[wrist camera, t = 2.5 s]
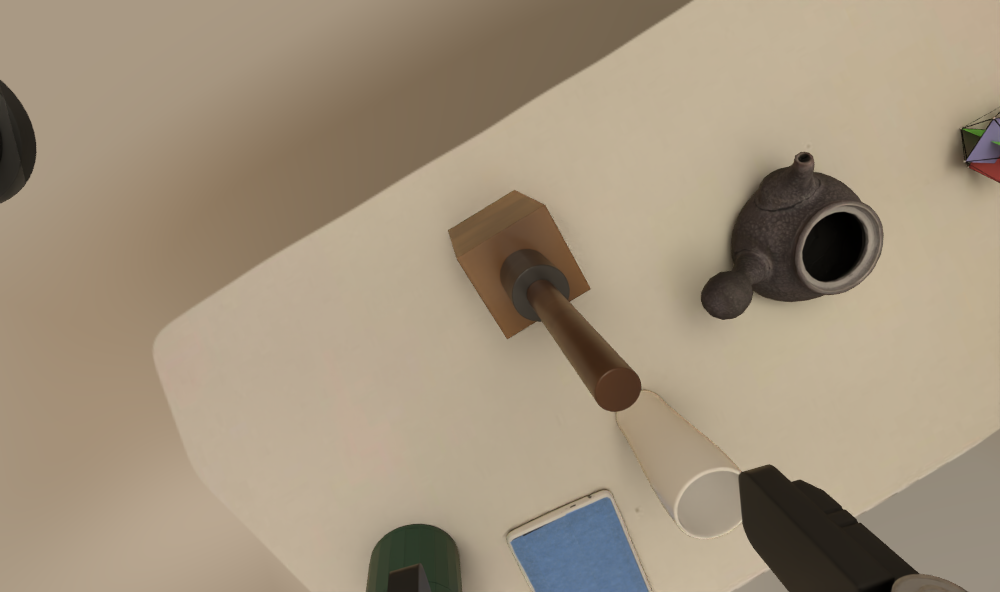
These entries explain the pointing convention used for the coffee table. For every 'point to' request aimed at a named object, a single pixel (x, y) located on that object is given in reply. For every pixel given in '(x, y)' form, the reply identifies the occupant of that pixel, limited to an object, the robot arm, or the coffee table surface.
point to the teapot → (796, 242)
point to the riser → (510, 252)
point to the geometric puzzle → (986, 150)
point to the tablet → (579, 549)
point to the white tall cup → (683, 468)
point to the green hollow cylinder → (416, 558)
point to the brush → (568, 328)
